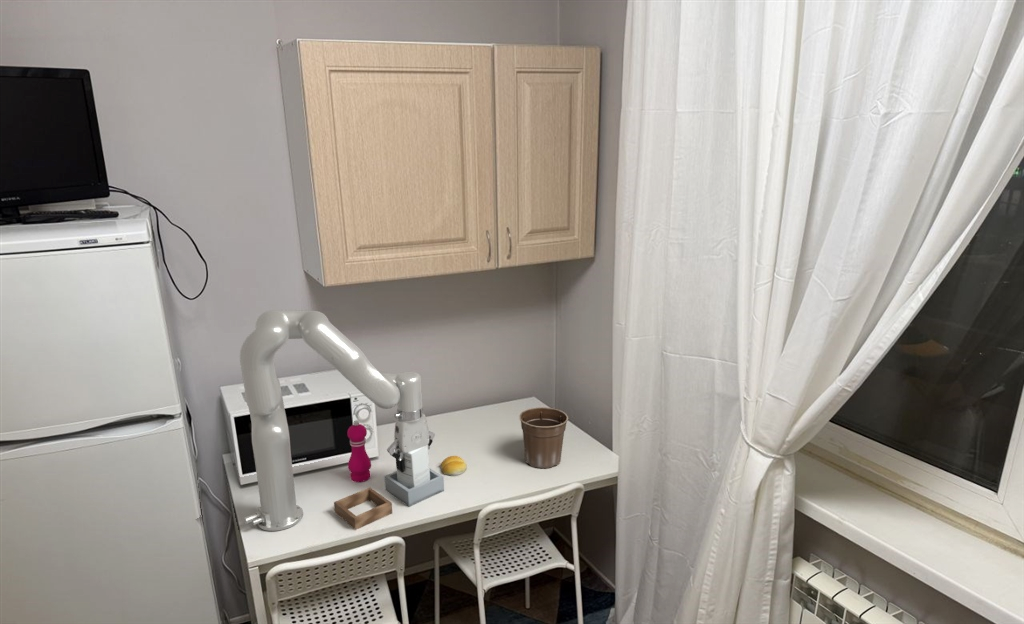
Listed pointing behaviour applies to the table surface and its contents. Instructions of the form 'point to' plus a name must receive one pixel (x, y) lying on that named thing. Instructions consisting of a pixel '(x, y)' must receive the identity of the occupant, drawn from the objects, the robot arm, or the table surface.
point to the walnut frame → (366, 517)
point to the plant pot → (543, 435)
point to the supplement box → (414, 468)
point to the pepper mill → (358, 453)
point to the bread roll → (453, 466)
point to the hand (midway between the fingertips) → (412, 465)
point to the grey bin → (414, 488)
